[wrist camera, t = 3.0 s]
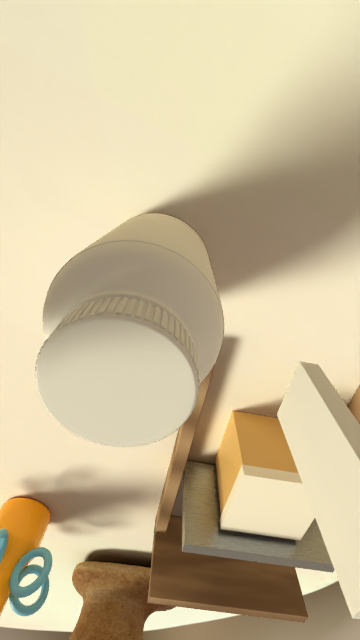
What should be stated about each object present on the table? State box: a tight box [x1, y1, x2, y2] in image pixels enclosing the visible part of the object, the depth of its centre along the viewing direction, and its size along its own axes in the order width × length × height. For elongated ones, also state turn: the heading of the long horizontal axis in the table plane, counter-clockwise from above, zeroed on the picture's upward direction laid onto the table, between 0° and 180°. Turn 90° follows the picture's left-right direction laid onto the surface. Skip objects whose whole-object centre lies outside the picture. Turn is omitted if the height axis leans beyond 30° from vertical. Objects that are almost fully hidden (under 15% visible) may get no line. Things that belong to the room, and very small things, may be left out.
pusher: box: [182, 461, 334, 572], centre depth 29 cm, size 1×13×8 cm, turn 79°
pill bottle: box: [35, 213, 224, 447], centre depth 16 cm, size 8×8×15 cm
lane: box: [147, 364, 360, 622], centre depth 28 cm, size 26×16×8 cm, turn 169°
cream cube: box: [216, 411, 315, 540], centre depth 28 cm, size 7×7×7 cm
